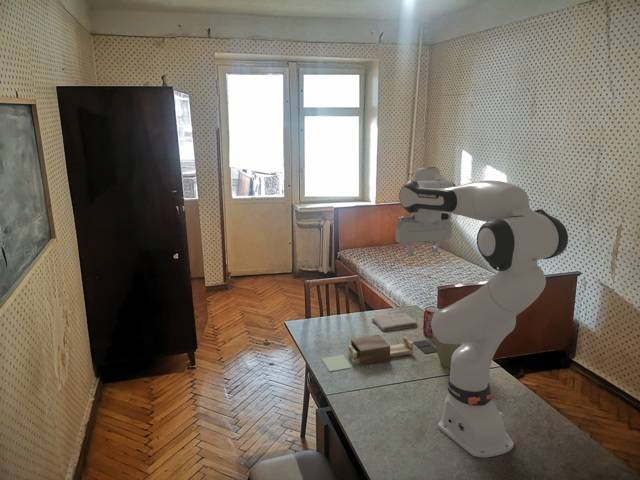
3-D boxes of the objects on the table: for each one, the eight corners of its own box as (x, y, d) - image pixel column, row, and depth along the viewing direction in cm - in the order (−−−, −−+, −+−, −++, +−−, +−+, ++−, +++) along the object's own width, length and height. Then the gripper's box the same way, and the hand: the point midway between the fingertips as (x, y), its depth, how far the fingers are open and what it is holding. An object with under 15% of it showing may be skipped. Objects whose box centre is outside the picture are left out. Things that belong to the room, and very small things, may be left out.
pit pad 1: (431, 345, 190) (431, 344, 190) (418, 347, 188) (418, 347, 188) (425, 340, 194) (425, 339, 194) (413, 342, 193) (413, 342, 192)
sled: (412, 353, 183) (413, 342, 182) (353, 363, 176) (354, 352, 175) (405, 346, 188) (405, 336, 187) (348, 356, 181) (348, 345, 180)
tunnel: (389, 361, 178) (390, 346, 176) (361, 366, 174) (361, 351, 173) (378, 349, 187) (378, 334, 186) (351, 353, 184) (351, 338, 182)
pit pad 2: (438, 351, 185) (438, 350, 185) (425, 353, 183) (425, 353, 183) (432, 346, 189) (432, 345, 189) (419, 348, 187) (419, 348, 187)
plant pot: (448, 350, 186) (450, 314, 182) (478, 366, 174) (482, 327, 170) (421, 361, 178) (423, 323, 174) (451, 378, 166) (454, 338, 162)
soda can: (441, 338, 196) (442, 312, 193) (424, 338, 196) (425, 312, 193) (437, 331, 203) (438, 305, 200) (421, 331, 203) (422, 305, 200)
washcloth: (418, 327, 208) (419, 320, 207) (382, 333, 202) (382, 326, 202) (406, 317, 219) (406, 311, 218) (371, 322, 213) (371, 316, 213)
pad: (352, 367, 174) (352, 367, 174) (329, 371, 171) (329, 371, 171) (343, 355, 183) (343, 354, 183) (321, 358, 180) (321, 358, 180)
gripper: (401, 218, 151) (399, 258, 155) (455, 214, 157) (452, 253, 160) (392, 214, 157) (391, 253, 160) (445, 210, 163) (443, 248, 166)
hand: (422, 253), depth 160 cm, fingers open, 8 cm apart
